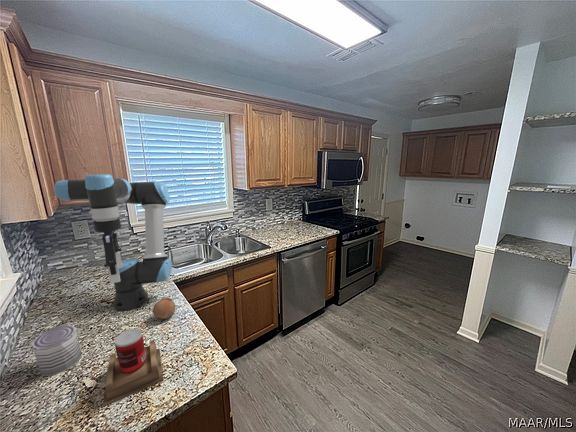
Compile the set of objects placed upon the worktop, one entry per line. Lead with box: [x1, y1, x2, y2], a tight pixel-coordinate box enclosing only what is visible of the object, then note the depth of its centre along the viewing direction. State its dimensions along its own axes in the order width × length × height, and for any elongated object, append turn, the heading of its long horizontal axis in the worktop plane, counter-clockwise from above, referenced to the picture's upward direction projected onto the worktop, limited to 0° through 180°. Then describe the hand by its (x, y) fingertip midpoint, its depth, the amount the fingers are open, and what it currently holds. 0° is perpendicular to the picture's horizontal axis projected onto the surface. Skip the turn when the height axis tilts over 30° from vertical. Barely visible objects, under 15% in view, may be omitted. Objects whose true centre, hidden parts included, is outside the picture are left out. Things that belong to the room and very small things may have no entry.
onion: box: [152, 296, 176, 321], centre depth 110 cm, size 10×9×10 cm
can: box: [30, 323, 83, 377], centre depth 84 cm, size 11×11×12 cm
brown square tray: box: [102, 339, 164, 408], centre depth 79 cm, size 16×16×6 cm
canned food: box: [114, 328, 146, 374], centre depth 78 cm, size 8×8×11 cm
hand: (116, 274), depth 86 cm, fingers open, 13 cm apart
